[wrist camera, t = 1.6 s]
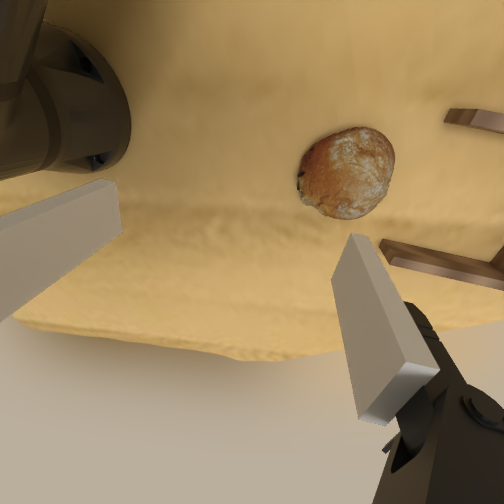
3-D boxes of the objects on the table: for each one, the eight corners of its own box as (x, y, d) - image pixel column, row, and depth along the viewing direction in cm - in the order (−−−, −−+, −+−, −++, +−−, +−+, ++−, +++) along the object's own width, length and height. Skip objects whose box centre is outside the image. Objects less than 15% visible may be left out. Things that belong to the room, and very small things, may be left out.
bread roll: (359, 201, 34) (406, 220, 28) (292, 217, 33) (324, 242, 26) (366, 121, 30) (425, 121, 23) (287, 135, 28) (326, 138, 21)
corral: (378, 246, 33) (389, 264, 30) (450, 108, 25) (478, 109, 21) (493, 272, 33) (518, 294, 29) (607, 139, 24) (666, 145, 20)
